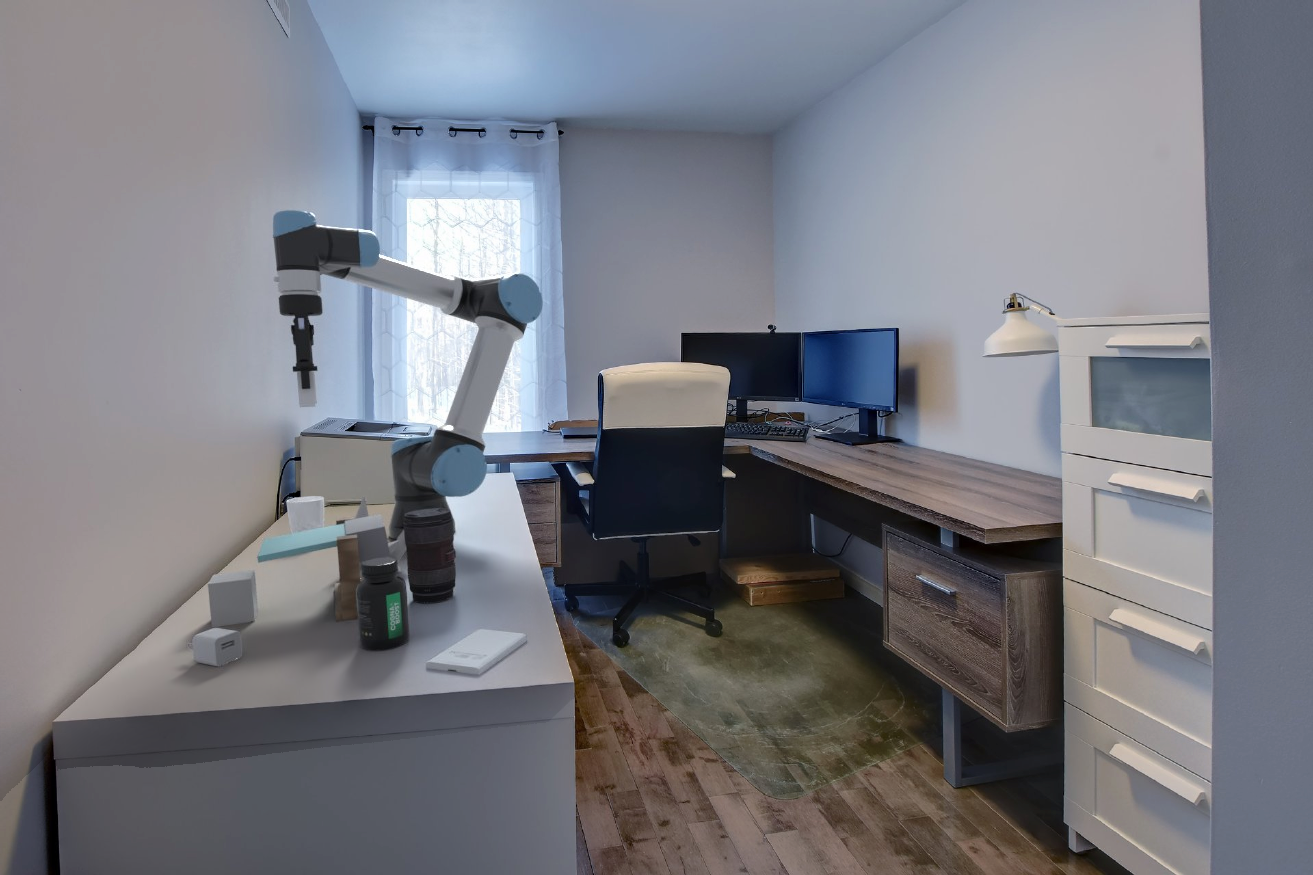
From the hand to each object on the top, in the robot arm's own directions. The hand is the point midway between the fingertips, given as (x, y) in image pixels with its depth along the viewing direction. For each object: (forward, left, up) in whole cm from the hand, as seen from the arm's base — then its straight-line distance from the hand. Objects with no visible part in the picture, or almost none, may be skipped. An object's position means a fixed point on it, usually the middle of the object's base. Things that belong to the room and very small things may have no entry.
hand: (308, 405), depth 150 cm
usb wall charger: (+14, +44, -33) cm, 57 cm away
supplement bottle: (-9, +49, -33) cm, 60 cm away
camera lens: (-18, +30, -33) cm, 48 cm away
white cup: (+3, -29, -33) cm, 44 cm away
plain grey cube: (+12, +26, -26) cm, 39 cm away
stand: (-5, +26, -33) cm, 42 cm away
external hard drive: (-20, +60, -34) cm, 72 cm away
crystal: (-10, +7, -33) cm, 35 cm away
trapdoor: (-2, +26, -25) cm, 36 cm away
